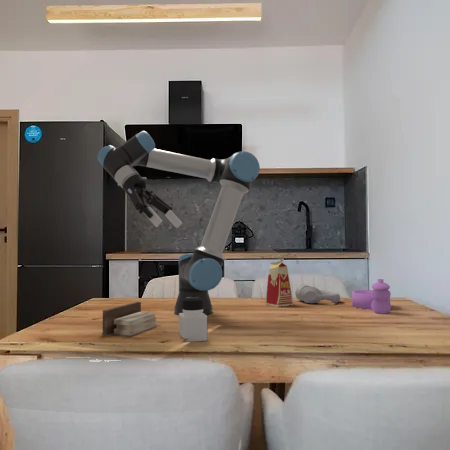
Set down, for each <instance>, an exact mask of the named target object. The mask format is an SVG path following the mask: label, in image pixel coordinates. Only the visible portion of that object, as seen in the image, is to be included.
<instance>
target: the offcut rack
mask: <svg viewBox="0 0 450 450" xmlns="http://www.w3.org/2000/svg"><path fill="white" fill-rule="evenodd" d="M137 312H142V302H141V301H134V302H130V303H127V304H123V305H118V306H114V307H111V308H106V309H104V310H102V335H103V336H113V337H121V338H132V337H135V336H138V335H140V334H143V333H146V332H148V331H150V330H153V329H155V328H158V327H160V326H162V324H156V326H155V327H152V328H149V329H147V330H144V331H142V332H139V333H136V334H134V335H121V334H114V329H115V328H117V324H114V319H117V318H120V317H124V316H127V315H131V314H134V313H137Z"/></svg>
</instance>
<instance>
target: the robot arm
mask: <svg viewBox="0 0 450 450" xmlns="http://www.w3.org/2000/svg"><path fill="white" fill-rule="evenodd" d="M97 161H98V162H99V163H100V165H101V166H102V168H103V169H104V170H105V171H106V172H107V173H108V174H109V175H110V176H111V177H112V179H113V180H114V181H115V182H116V183H117V186H118V187H120V188H122V190H123V191H124V192H125V193H126V195H127V196H128V197H129V199H130V200H131V203H132V205H133V206H134V209H135V210H136V211H138V213H139V214H140V215H142V214H143V215H145V216H146V218H147V219H148V220H149V221H150V222H151V224H153V225H154V227H155V228H158V227H159V226H160V225H161V224H162V223H163V219H161V217H159V215H158V214H157V213H156V212H155V211H154V210H153V209H152V207H150V206H153V207H154V208H156V209H157V210H159V212H161V213H163V214H165V215H164V216H165V217H166V219H167V220H168V221H169V222H170V223H171V224H172V225H173V226H174V227H175V228H176V229H179V228H180V226H181V225H182V224H183V222H182V221H181V219H180V218H179V217H178V216H177V215H176V214H175V213H174V212H173V211H172V210H173V207H172V206H170V205H169V204H168V203H166V202H165V201H164V200H163V199H162V198H161V197H159V196H158V195H157V194H156V193H155V192H154V191H153V190H149V189H147V188H146V187H147V181H146V180H145V179H144V178H143V177H142V175H140V173H139V172H138V171H137V170H136V169H135V167H137V166H138V167H139V166H140V167H146V168H152V169H154V170H155V169H156V170H160V171H166V172H170V173H171V172H172V173H178V174H180V175H181V174H182V175H186V176H192V177H198V178H202V179H206V180H207V181H208V182H209V183H215V184H219V185H220V186H221V188H220V192H219V194H218V197H217V198H216V199H217V200H216V202H215V205H214V207H213V210H212V214H211V216H210V219H209V222H208V225H207V226H206V229H205V232H204V235H203V237H202V241H201V242H200V246H198V247H196V248H194V251H193V253H184V254H181V255H179V257H178V263H177V264H178V295H177V297H176V302H175V305H174V307H173V308H174V311H173V313H174V314H176V315H179V313H184V312H183V299H184V298H187V297H200V298H202V299H203V312H202V313H204V314H205V315H208V314H212V313H213V305H212V301H211V298H210V294H209V291H211V290H214V289H215V288H217V286H218V285H220V283H221V281H222V278H223V268H222V267H223V264H224V261H225V258H224V255H223V252H224V249H225V246H226V243H227V242H228V241H227V240H228V238H229V235H230V232H231V229H232V228H233V227H232V226H233V224H234V221H235V220H236V219H235V218H236V215H237V212H238V210H239V208H240V204H241V203H242V202H241V201H242V199H243V196H244V195H245V194H247V193H249V191H250V189H251V186H252V182H253V181H254V180H256V178H257V177H258V176H259V174H260V172H261V171H260V170H261V169H260V168H261V167H260V163H259V160H258V159H257V157H256V156H255V155H254V154H253V153H251V152H249V151H244V150H242V151H238V152H234V153H233V154H232V155H231V156H229V157H228V158H224V159H223V158H222V159H219V158H214V157H212V158H211V159H207V158H206V159H205V158H202V157H196V156H192V155H187V154H181V153H178V152H177V153H176V152H172V151H167V150H162V149H157V148H156V143H155V141H154V138H152V136H151V135H150V134H149V133H148V132H147V131H145V130H141V131H140V132H139V133H135V135H134V136H132V137H131V138H130V139H127V140H126V141H125V142H123V143H122V144H121V145H119V146H117V147H115V146H113V145H111V144H109V145H107V146H104V147H102V148H101V149H100V150H99V151H98V154H97ZM148 205H149V206H148Z"/></svg>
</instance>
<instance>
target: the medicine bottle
mask: <svg viewBox="0 0 450 450" xmlns="http://www.w3.org/2000/svg"><path fill="white" fill-rule="evenodd" d="M183 312H184V313H179V314H178V334H179V335H180V337H181V338H182V339H185V340H182V342H183V343H196V342H207V341H208V315H207V314H204V313H202V312H203V299H202V298H200V297H187V298H184V299H183Z"/></svg>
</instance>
